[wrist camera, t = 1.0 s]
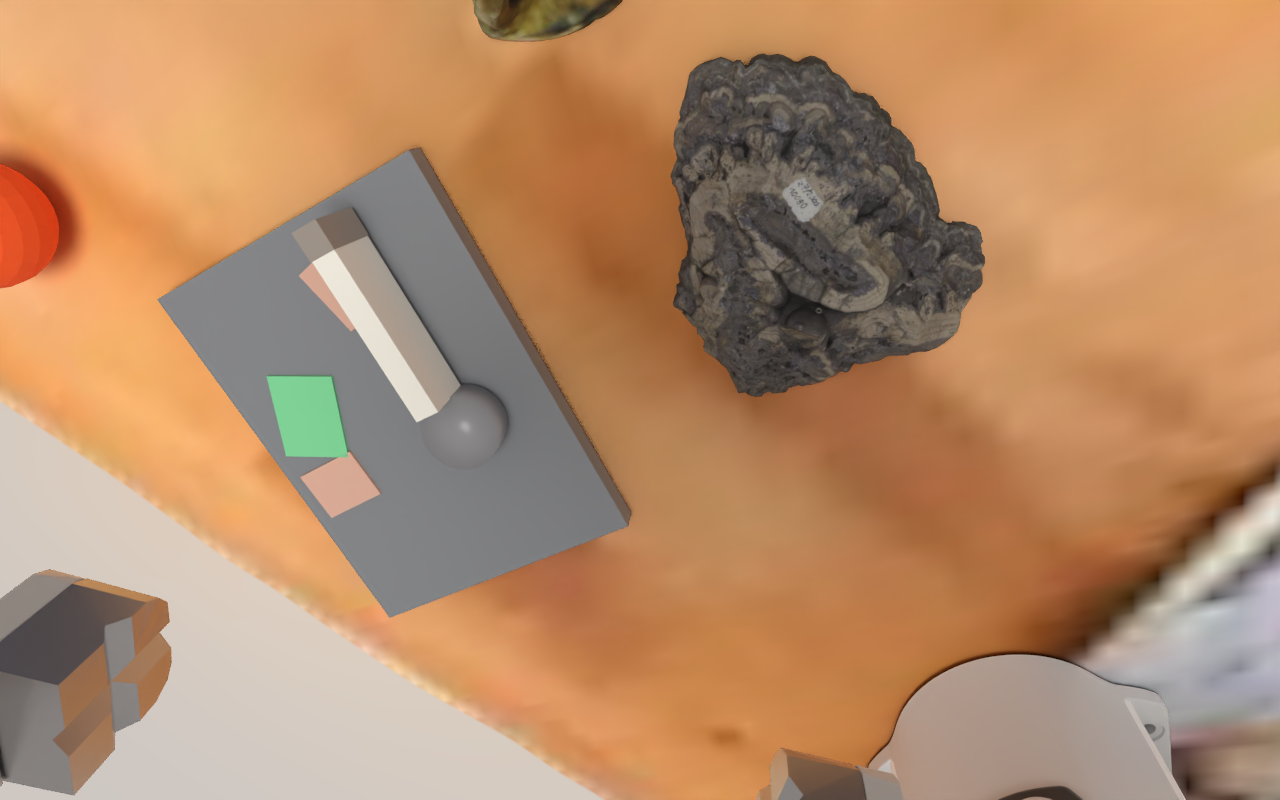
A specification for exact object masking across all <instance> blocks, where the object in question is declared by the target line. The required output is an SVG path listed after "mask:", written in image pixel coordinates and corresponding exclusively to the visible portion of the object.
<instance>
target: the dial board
mask: <svg viewBox="0 0 1280 800" xmlns="http://www.w3.org/2000/svg"><path fill="white" fill-rule="evenodd" d="M351 207H352V209H353V211H354V212H355V214H356V215H357V217H358V219H359V220H360V222H361V223H362V225H363V227H364V228H365V230H366V231H367V233H368V237H369V239H370V240H371V242H372V244H373V245H374V247H375V248H376V250H377V252H378V253H379V255H380V256H381V258H382V260H383V261H384V263H385V265H386V266H387V268H388V269H389V271H390V273H391V274H392V276H393V277H394V279H395V281H396V282H397V284H398V285H399V287H400V289H401V290H402V292H403V293H404V295H405V297H406V298H407V300H408V302H409V303H410V305H411V306H412V308H413V310H414V311H415V313H416V314H417V316H418V318H419V319H420V321H421V322H422V324H423V326H424V327H425V329H426V330H427V332H428V334H429V335H430V337H431V339H432V340H433V342H434V343H435V345H436V347H437V348H438V350H439V351H440V353H441V355H442V356H443V358H444V359H445V361H446V363H447V364H448V366H449V367H450V369H451V371H452V372H453V374H454V375H455V377H456V379H457V380H458V382H459V384H472V385H477V386H480V387H482V388H485V389H487V390H488V391H490V392H491V393H493V394H494V395H495V396H496V397H497V398H498V399H499V400H500V402H501V403H502V405H503V406H504V408H505V410H506V413H507V417H508V431H507V434H506V437H505V438H504V440H503V442H502V443H501V445H500V446H499V448H498V449H497V451H496V452H495V454H494V455H493V457H492V458H491V459H490V460H489V461H488V462H487V463H486V464H484V465H483V466H481V467H478V468H475V469H470V470H460V469H455V468H451V467H449V466H446V465H444V464H443V463H441V462H440V461H438V460H437V459H436V458H434V457H433V456H432V455H431V453H430V452H429V451H428V449H427V448H426V446H425V444H424V442H423V439H422V436H421V421H422V420H421V421H419V422H416V421H415V419H414V418H413V416H412V415H411V413H410V411H409V410H408V408H407V407H406V405H405V404H404V402H403V401H402V399H401V398H400V396H399V395H398V393H397V392H396V390H395V388H394V387H393V385H392V384H391V382H390V381H389V379H388V378H387V376H386V375H385V373H384V372H383V370H382V369H381V367H380V365H379V364H378V362H377V361H376V359H375V358H374V356H373V355H372V353H371V352H370V350H369V349H368V347H367V346H366V344H365V343H364V341H363V339H362V338H361V336H360V335H359V333H358V332H357V330H356V329H355V327H354V326H353V324H352V323H351V321H350V320H349V318H348V316H347V315H346V313H345V312H344V310H343V309H342V307H341V306H340V304H339V303H338V301H337V300H336V298H335V297H334V295H333V293H332V292H331V290H330V289H329V287H328V286H327V284H326V283H325V281H324V280H323V278H322V277H321V275H320V274H319V272H318V271H317V269H316V267H315V266H314V264H313V263H312V262H310V261H309V259H308V258H307V256H306V255H305V253H304V252H303V250H302V249H301V247H300V246H299V244H298V243H297V241H296V240H295V238H294V236H293V235H292V232H294V231H296V230H298V229H299V228H301V227H303V226H304V225H306V224H308V223H309V222H311V221H313V220H315V219H317V218H320V217H323V216H326V215H329V214H332V213H335V212H339V211H342V210H345V209H348V208H351ZM157 300H158V301H159V303H160V304H161V305H162V307H163V308H164V309H165V311H166V312H167V314H168V315H169V316H170V318H171V319H172V320H173V322H174V323H175V324H176V326H177V327H178V329H179V330H180V331H181V333H182V334H183V335H184V337H185V338H186V340H187V341H188V342H189V344H190V345H191V346H192V348H193V349H194V350H195V352H196V353H197V355H198V356H199V357H200V359H201V360H202V361H203V363H204V364H205V366H206V367H207V368H208V370H209V371H210V372H211V374H212V375H213V376H214V378H215V379H216V381H217V382H218V383H219V385H220V386H221V387H222V389H223V390H224V392H225V393H226V394H227V396H228V397H229V398H230V400H231V401H232V402H233V404H234V405H235V407H236V408H237V409H238V411H239V412H240V413H241V415H242V416H243V417H244V419H245V420H246V422H247V423H248V424H249V426H250V427H251V428H252V430H253V431H254V433H255V434H256V435H257V437H258V438H259V439H260V441H261V442H262V443H263V445H264V446H265V448H266V449H267V450H268V452H269V453H270V454H271V456H272V457H273V459H274V460H275V461H276V463H277V464H278V465H279V467H280V468H281V469H282V471H283V472H284V474H285V475H286V476H287V478H288V479H289V480H290V482H291V483H292V485H293V486H294V487H295V489H296V490H297V491H298V493H299V494H300V495H301V497H302V498H303V500H304V501H305V502H306V504H307V505H308V506H309V508H310V509H311V510H312V512H313V513H314V515H315V516H316V517H317V519H318V520H319V521H320V523H321V524H322V526H323V527H324V528H325V530H326V531H327V532H328V534H329V535H330V536H331V538H332V539H333V541H334V542H335V543H336V545H337V546H338V547H339V549H340V550H341V552H342V553H343V554H344V556H345V557H346V558H347V560H348V561H349V562H350V564H351V565H352V567H353V568H354V569H355V571H356V572H357V573H358V575H359V576H360V578H361V579H362V580H363V582H364V583H365V584H366V586H367V587H368V588H369V590H370V591H371V593H372V594H373V595H374V597H375V598H376V599H377V601H378V602H379V603H380V605H381V606H382V608H383V609H384V610H385V612H386V613H387V614H388V616H389V617H393V616H395V615H398V614H401V613H403V612H406V611H408V610H411V609H414V608H416V607H419V606H421V605H424V604H427V603H429V602H432V601H434V600H437V599H440V598H442V597H445V596H447V595H450V594H453V593H455V592H458V591H461V590H463V589H466V588H468V587H471V586H474V585H476V584H479V583H481V582H484V581H487V580H489V579H492V578H494V577H497V576H500V575H502V574H505V573H507V572H510V571H513V570H515V569H518V568H520V567H523V566H526V565H528V564H531V563H533V562H536V561H539V560H541V559H544V558H546V557H549V556H552V555H554V554H557V553H559V552H562V551H565V550H567V549H570V548H572V547H575V546H578V545H580V544H583V543H585V542H588V541H591V540H593V539H596V538H598V537H601V536H604V535H606V534H609V533H611V532H614V531H617V530H619V529H622V528H624V527H627V526H628V524H629V520H630V516H631V512H630V510H629V508H628V506H627V505H626V503H625V501H624V499H623V498H622V496H621V494H620V493H619V491H618V489H617V487H616V486H615V484H614V482H613V480H612V479H611V477H610V475H609V474H608V472H607V470H606V468H605V467H604V465H603V463H602V461H601V460H600V458H599V456H598V454H597V453H596V451H595V449H594V448H593V446H592V444H591V442H590V441H589V439H588V437H587V435H586V434H585V432H584V430H583V429H582V427H581V425H580V423H579V422H578V420H577V418H576V416H575V415H574V413H573V411H572V409H571V408H570V406H569V404H568V403H567V401H566V399H565V397H564V396H563V394H562V392H561V390H560V389H559V387H558V385H557V384H556V382H555V380H554V378H553V377H552V375H551V373H550V371H549V370H548V368H547V366H546V364H545V363H544V361H543V359H542V358H541V356H540V354H539V352H538V351H537V349H536V347H535V345H534V344H533V342H532V340H531V339H530V337H529V335H528V333H527V332H526V330H525V328H524V326H523V325H522V323H521V321H520V319H519V318H518V316H517V314H516V313H515V311H514V309H513V307H512V306H511V304H510V302H509V300H508V299H507V297H506V295H505V294H504V292H503V290H502V288H501V287H500V285H499V283H498V281H497V280H496V278H495V276H494V274H493V273H492V271H491V269H490V268H489V266H488V264H487V262H486V261H485V259H484V257H483V255H482V254H481V252H480V250H479V249H478V247H477V245H476V243H475V242H474V240H473V238H472V236H471V235H470V233H469V231H468V229H467V228H466V226H465V224H464V223H463V221H462V219H461V217H460V216H459V214H458V212H457V210H456V209H455V207H454V205H453V204H452V202H451V200H450V198H449V197H448V195H447V193H446V191H445V190H444V188H443V186H442V184H441V183H440V181H439V179H438V178H437V176H436V174H435V172H434V171H433V169H432V167H431V165H430V164H429V162H428V160H427V159H426V157H425V155H424V153H423V152H422V150H421V148H416V149H411V150H408V151H406V152H405V153H403V154H401V155H400V156H398V157H396V158H395V159H393V160H391V161H389V162H388V163H386V164H384V165H383V166H381V167H379V168H378V169H376V170H374V171H373V172H371V173H369V174H368V175H366V176H364V177H363V178H361V179H359V180H357V181H356V182H354V183H352V184H351V185H349V186H347V187H346V188H344V189H342V190H341V191H339V192H337V193H336V194H334V195H332V196H331V197H329V198H327V199H326V200H324V201H322V202H320V203H319V204H317V205H315V206H314V207H312V208H310V209H309V210H307V211H305V212H304V213H302V214H300V215H299V216H297V217H295V218H294V219H292V220H290V221H288V222H287V223H285V224H283V225H282V226H280V227H278V228H277V229H275V230H273V231H272V232H270V233H268V234H267V235H265V236H263V237H262V238H260V239H258V240H257V241H255V242H253V243H251V244H250V245H248V246H246V247H245V248H243V249H241V250H240V251H238V252H236V253H235V254H233V255H231V256H230V257H228V258H226V259H225V260H223V261H221V262H219V263H218V264H216V265H214V266H213V267H211V268H209V269H208V270H206V271H204V272H203V273H201V274H199V275H198V276H196V277H194V278H193V279H191V280H189V281H188V282H186V283H184V284H182V285H181V286H179V287H177V288H176V289H174V290H172V291H171V292H169V293H167V294H166V295H164V296H162V297H161V298H159V299H157Z"/></svg>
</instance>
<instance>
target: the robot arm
mask: <svg viewBox="0 0 1280 800" xmlns="http://www.w3.org/2000/svg"><path fill="white" fill-rule="evenodd" d="M168 623H169V612H168V603H167V602H166V601H164V600H162V599H160V598H157V597H153V596H149V595H146V594H142V593H138V592H135V591H131V590H127V589H124V588H120V587H116V586H112V585H109V584H105V583H102V582H98V581H94V580H90V579H84V578H81V577H76V576H73V575H69V574H66V573H62V572H58V571H54V570H51V569H49V570H45V571H42V572H39V573H35V574H33V575H32V576H30V577H29V578H28V579H26V580H25V581H24V582H22V583H21V584H20V585H18V586H17V587H15V588H14V589H13V590H11V591H10V592H9V593H7V594H6V595H5V596H3V597H2V598H1V599H0V786H1V785H2V784H3V782H2V780H3V781H7V782H13V783H18V784H22V785H27V786H31V787H36V788H41V789H46V790H51V791H55V792H60V793H65V794H70V795H75V794H76V793H77V791H78V790H79V789H80V788H81V787H82V786H83V785H84V783H85V782H86V781H87V780H88V779H89V778H90V777H91V776H92V774H93V773H94V772H95V771H96V770H97V769H98V768H99V767H100V765H101V764H102V763H103V762H104V761H105V760H106V759H107V757H108V756H109V755H110V754H111V753H112V752H113V751H114V750H115V732H116V731H119V730H121V729H123V728H125V727H127V726H129V725H132V724H134V723H136V722H138V721H140V720H141V719H142V718H143V716H144V715H145V714H146V713H147V711H148V710H149V709H150V708H151V707H152V706H153V705H154V703H155V702H156V701H157V699H158V697H159V695H160V693H161V691H162V689H163V687H164V685H165V683H166V681H167V679H168V675H169V671H170V667H171V662H172V661H171V647H170V646H169V645H168V643H167V642H166V640H165V639H164V638H163V636H162V635H161V634H160V633H159V632H160V631H161V630H162V629H163V628H164V627H165V626H166V625H167V624H168ZM1145 724H1146V725H1145ZM770 780H771V784H770V785H769V786H767V787H765V788H763V789H761V790H760V791H759V794H758V797H757V799H756V800H1186V799H1185V797H1184V795H1183V794H1182V792H1181V790H1180V788H1179V787H1178V785H1177V783H1176V781H1175V780H1174V778H1173V776H1172V764H1171V744H1170V725H1169V713H1168V710H1167V708H1166V706H1165V704H1164V702H1163V700H1162V698H1161V697H1160V696H1159V695H1158V694H1156V693H1154V692H1152V691H1149V690H1145V689H1140V688H1135V687H1129V686H1123V685H1116V684H1112V683H1109V682H1107V681H1105V680H1103V679H1101V678H1099V677H1097V676H1095V675H1094V674H1092V673H1090V672H1088V671H1086V670H1085V669H1082V668H1080V667H1078V666H1076V665H1073V664H1071V663H1068V662H1065V661H1062V660H1058V659H1054V658H1049V657H1044V656H1036V655H1001V656H993V657H987V658H982V659H978V660H974V661H971V662H968V663H964V664H962V665H959V666H956V667H954V668H952V669H950V670H948V671H946V672H944V673H942V674H940V675H939V676H937V677H935V678H934V679H932V680H931V681H929V682H928V683H927V684H925V685H924V686H923V687H922V688H921V689H920V690H919V691H917V692H916V693H915V695H914V696H913V697H912V698H911V699H910V700H909V702H908V703H907V704H906V706H905V707H904V709H903V711H902V713H901V715H900V717H899V719H898V722H897V725H896V728H895V731H894V734H893V736H892V739H891V741H890V743H889V744H888V745H887V746H886V747H885V748H884V749H883V750H882V751H881V752H880V753H879V754H878V755H877V756H876V757H875V758H874V759H873V760H872V761H871V763H870V764H869V766H868V768H866V767H862V766H857V765H856V766H854V765H852V764H850V763H845V762H841V761H837V760H832V759H828V758H824V757H819V756H815V755H811V754H806V753H802V752H798V751H793V750H789V749H785V748H780V750H779V751H778V752H777V753H776V754H775V756H774V758H773V761H772V763H771V765H770Z"/></svg>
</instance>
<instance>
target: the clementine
mask: <svg viewBox="0 0 1280 800" xmlns="http://www.w3.org/2000/svg"><path fill="white" fill-rule="evenodd" d="M58 239H59V223H58V218H57V216H56V213H55V210H54V208H53V206H52V204H51V203H50V201H49V199H48V198H47V196H46V195H45V194H44V193H43V192H42V191H41V190H40V189H39V188H38V187H37V186H36V185H35V184H34V183H32V182H31V181H30V180H28V179H27V178H26V177H25V176H23V175H22V174H21V173H19V172H17V171H15V170H13V169H11V168H9V167H7V166H5V165H2V164H0V288H4V287H11V286H14V285H16V284H19V283H21V282H24V281H26V280H28V279H30V278H32V277H34V276H36V275H37V274H38V273H39V272H40V271H41V270H42V269H43V268H44V267H45V266H46V265H47V264H48V263H49V262H50V261H51V260H52V258H53V256H54V254H55V252H56V250H57V245H58Z"/></svg>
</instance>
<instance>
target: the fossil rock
mask: <svg viewBox="0 0 1280 800" xmlns="http://www.w3.org/2000/svg"><path fill="white" fill-rule="evenodd" d="M674 148H675V150H676V155H677V161H676V163H675V165H674V168H673V170H672V173H671V178H672V184H673V185H674V186H675V187H676V190H677V193H678V196H679V199H680V202H681V203H680V206H679V212H680V215H681V220H682V223H683V226H684V228H685V237H686V239H687V241H688V250H687V256H686V257H685V258H684V259H683V260H682V263H681V268H680V271H679V280H680V283H678V284H677V293H676V295H675V298H674V302H673V305H674V307H676V308H678V309H679V310H681V311H683V312H682V313H683V314H684V315H685V317H686V318H687V319H688V321H689V322H690V323H691V324H692V325H693V326H695V327H696V328H697V334H699V335H700V336H701V337H702V338H703V340H704V346H703V347H704V351H705V352H707V353H708V354H709V355H711V356H712V357H714V358H715V359H717V360H718V361H719V362H720V363H721V364H722V365H724V366H725V367H726V368H727V370H728V371H729V373H730V376H731V378H732V380H733V382H734V384H735V386H736V388H737V392H738V393H743V392H746V393H747V394H749V395H751V396H755V397H758V396H762V395H763V394H764V393H766V392H771V393H781V392H786V391H787V390H788V388H790V387H793V386H797V385H800V386H804V385H812V384H815V383H819V382H822V381H824V380H826V379H827V378H829V377H832V376H834V375H836V374H837V373H839V372H840V371H843V372H848V371H849V370H850V368H851V367H852V365H853V364H854V363H858V364H864V363H868V362H873V361H878V360H881V359H883V358H885V357H887V356H893V355H894V356H897V355H909V354H911V353H914V352H926V351H930V350H932V349H934V348H937V347H938V346H940V345H942V344H943V343H945V342H946V341H947V340H949V339H950V338H951V337H952V336H953V335H954V334H955V333H956V332H957V330H958V327H959V325H960V318H961V311H962V310H963V309H964V307H965V306H966V304H967V303H968V301H969V300H970V298H971V295H972V293H973V292H975V291H976V290H977V289H979V288H980V287H981V285H982V272H981V269H982V267H983V266H984V264H985V257H984V255H983V254H982V249H981V243H982V242H983V241H982V237H981V233H980V231H979V229H978V228H977V227H976V226H974V225H971V224H967V223H966V222H954V221H952V223H946V222H945V221H944V220H942V219H941V218H939V216H938V215H939V212H940V210H939V204H938V199H937V195H936V192H935V189H934V186H933V182H932V179H931V177H930V176H929V175H928V173H927V170H926V168H925V167H924V166H923V165H922V164H921V163H919V162H916V161H915V153H914V147H913V145H912V143H911V142H910V141H909V140H908V139H907V138H906V136H905V135H904V134H903V133H902V132H901V131H900V130H898V129H896V128H895V127H893V126H891V117H890V115H889V113H888V112H886V111H885V110H884V109H880V106H879V105H878V102H877V101H876V100H875V99H874V97H873V96H869V95H867V94H866V93H861V94H859V93H857V92H853V91H852V90H851V88H850V87H849V85H848V84H847V82H846V81H845V80H844V79H843V78H842V77H841V76H840V75H838V74H835V73H833V72H832V71H831V69H830V68H829V66H828V65H827V63H826V62H825V61H823V60H821V59H819V58H817V57H815V56H809V57H806V58H804V59H802V60H801V61H799V62H794V61H792V60H791V59H789V58H787V57H785V56H783V55H779V54H776V55H769V56H768V55H765V54H760V55H757V56H755V57H754V58H752V59H751V61H750V63H749V65H746V66H745V65H744V64H743V63H742V61H741V60H736V61H735V62H732V61H730V60H727V59H725V58H722V57H720V58H717V59H714V60H710V61H707V62H705V63H702V64H700V65H699V66H697V67H696V68H695V69H694V70H693V71H692V72H691V73H690V75H689V80H688V84H687V89H686V93H685V97H684V99H683V102H682V106H681V109H680V119H679V121H678V124H677V127H676V129H675V132H674Z"/></svg>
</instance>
